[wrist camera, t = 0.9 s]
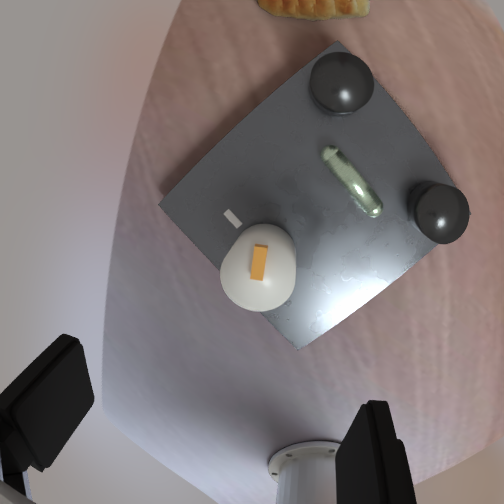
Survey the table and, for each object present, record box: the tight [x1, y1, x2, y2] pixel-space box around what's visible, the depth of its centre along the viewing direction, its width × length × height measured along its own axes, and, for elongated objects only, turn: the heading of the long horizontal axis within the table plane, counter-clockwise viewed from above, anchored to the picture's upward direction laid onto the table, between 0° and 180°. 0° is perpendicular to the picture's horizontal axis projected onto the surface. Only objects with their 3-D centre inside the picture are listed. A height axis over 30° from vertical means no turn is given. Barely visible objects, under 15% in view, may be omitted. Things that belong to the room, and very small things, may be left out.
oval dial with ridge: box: [220, 224, 296, 311], centre depth 23 cm, size 5×5×6 cm
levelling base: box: [158, 40, 471, 350], centre depth 24 cm, size 18×20×5 cm
